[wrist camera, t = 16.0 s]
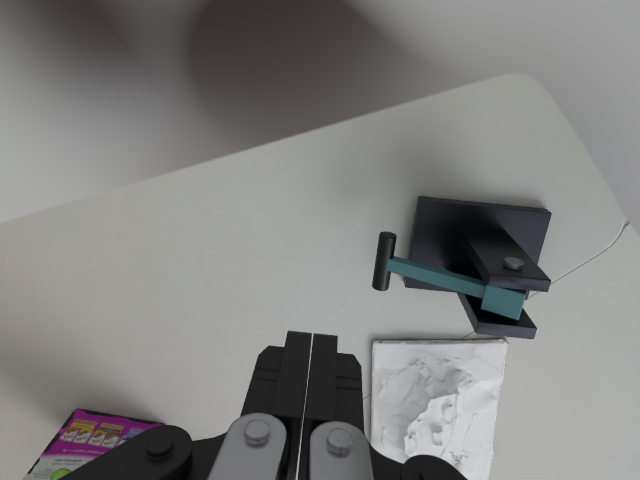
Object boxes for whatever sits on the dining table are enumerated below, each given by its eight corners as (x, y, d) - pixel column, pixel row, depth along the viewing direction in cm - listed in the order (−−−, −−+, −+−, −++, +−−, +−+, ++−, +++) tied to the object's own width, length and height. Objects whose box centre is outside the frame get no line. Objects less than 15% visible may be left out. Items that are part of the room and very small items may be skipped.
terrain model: (370, 490, 59) (372, 529, 54) (347, 341, 50) (346, 372, 45) (506, 483, 57) (520, 522, 53) (507, 326, 48) (523, 358, 43)
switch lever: (377, 280, 42) (367, 290, 40) (385, 228, 41) (374, 236, 39) (518, 323, 37) (514, 336, 35) (533, 266, 35) (530, 277, 33)
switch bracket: (403, 282, 47) (420, 350, 36) (418, 196, 44) (442, 242, 33) (523, 294, 47) (576, 366, 36) (546, 209, 44) (614, 260, 33)
